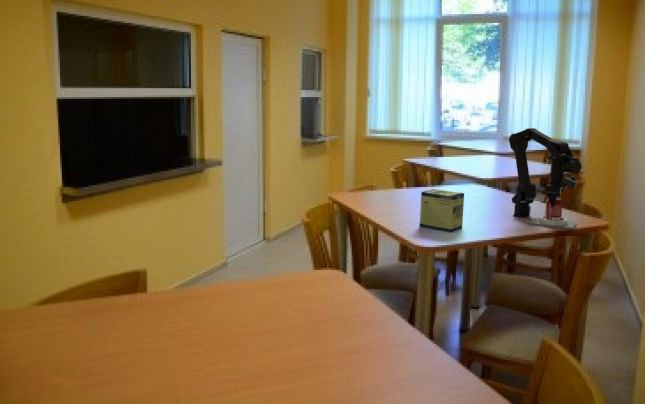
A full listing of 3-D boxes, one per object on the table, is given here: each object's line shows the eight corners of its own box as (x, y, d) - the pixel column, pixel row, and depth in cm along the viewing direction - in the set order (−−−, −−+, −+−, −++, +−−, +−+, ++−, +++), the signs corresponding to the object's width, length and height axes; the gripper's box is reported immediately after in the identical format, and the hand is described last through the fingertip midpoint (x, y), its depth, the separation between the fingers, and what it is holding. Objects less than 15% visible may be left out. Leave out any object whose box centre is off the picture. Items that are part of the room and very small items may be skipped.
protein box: (451, 232, 244) (453, 196, 241) (418, 226, 254) (420, 191, 251) (463, 228, 252) (465, 192, 249) (431, 223, 262) (432, 188, 259)
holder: (529, 224, 261) (529, 218, 260) (534, 219, 271) (535, 213, 271) (572, 229, 252) (573, 223, 252) (576, 224, 262) (577, 218, 262)
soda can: (562, 226, 258) (564, 199, 256) (546, 225, 259) (547, 199, 257) (559, 223, 264) (561, 197, 262) (543, 222, 266) (545, 196, 263)
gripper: (574, 174, 245) (570, 211, 248) (580, 170, 261) (576, 204, 264) (546, 172, 251) (543, 208, 254) (553, 168, 267) (550, 201, 269)
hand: (554, 205), depth 260 cm, fingers open, 7 cm apart
